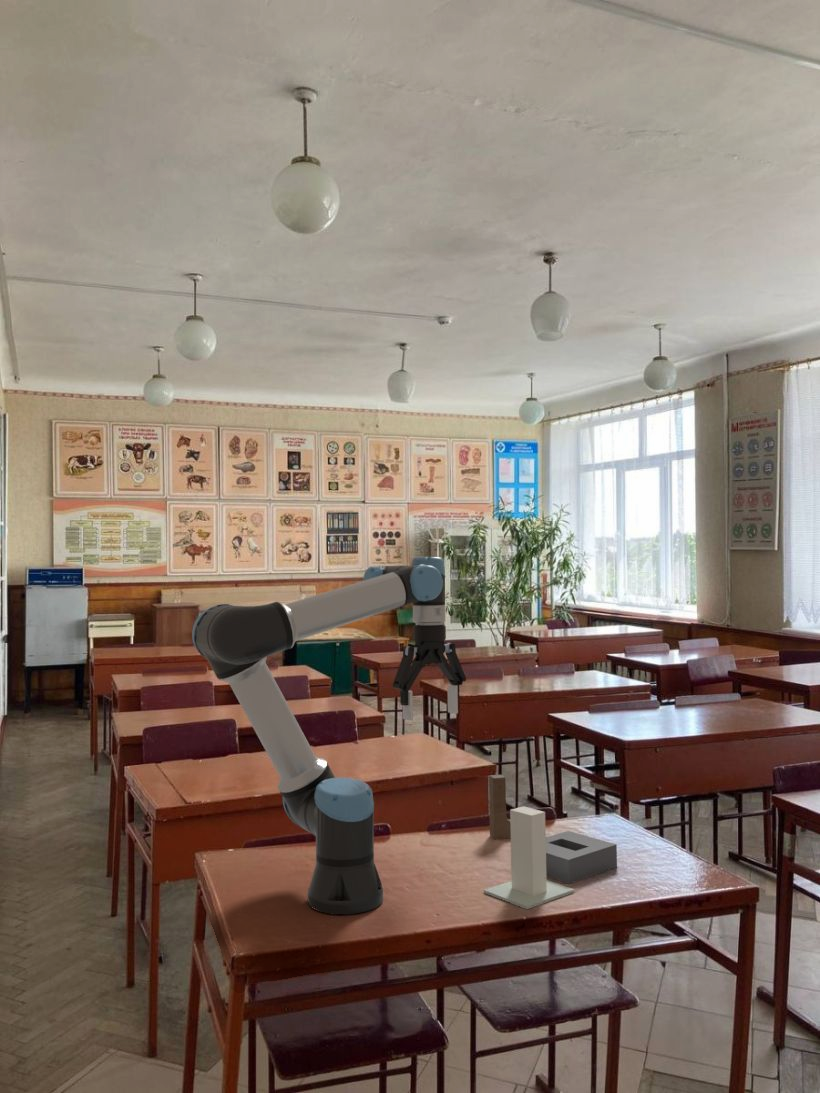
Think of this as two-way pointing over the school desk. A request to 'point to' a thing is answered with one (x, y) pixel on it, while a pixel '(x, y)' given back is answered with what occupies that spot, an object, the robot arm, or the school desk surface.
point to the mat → (525, 899)
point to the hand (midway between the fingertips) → (430, 716)
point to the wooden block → (498, 808)
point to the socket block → (578, 856)
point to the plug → (528, 850)
